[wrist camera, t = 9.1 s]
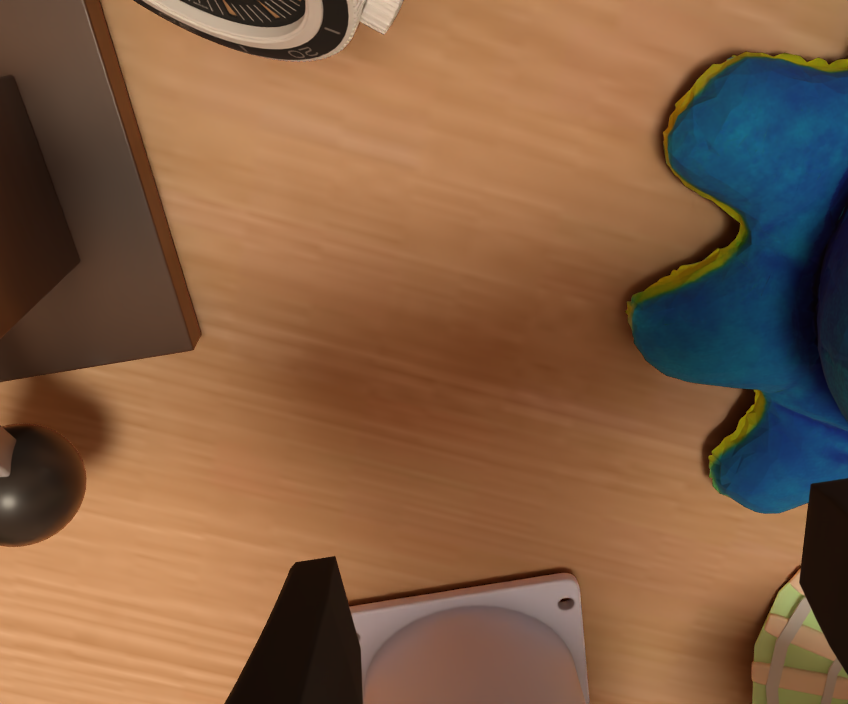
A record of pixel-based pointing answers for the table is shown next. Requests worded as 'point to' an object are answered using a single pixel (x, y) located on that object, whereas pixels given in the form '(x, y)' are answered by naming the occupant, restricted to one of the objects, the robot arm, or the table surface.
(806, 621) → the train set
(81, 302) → the rod stand
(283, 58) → the watch
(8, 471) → the rod arm
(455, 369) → the table surface
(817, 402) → the plush toy
